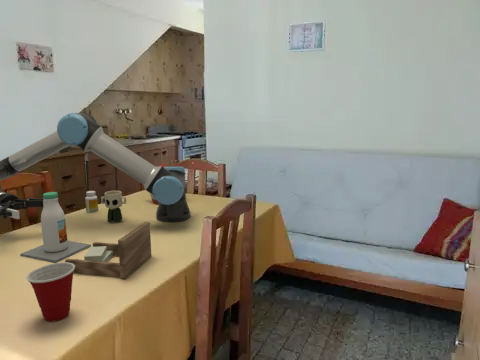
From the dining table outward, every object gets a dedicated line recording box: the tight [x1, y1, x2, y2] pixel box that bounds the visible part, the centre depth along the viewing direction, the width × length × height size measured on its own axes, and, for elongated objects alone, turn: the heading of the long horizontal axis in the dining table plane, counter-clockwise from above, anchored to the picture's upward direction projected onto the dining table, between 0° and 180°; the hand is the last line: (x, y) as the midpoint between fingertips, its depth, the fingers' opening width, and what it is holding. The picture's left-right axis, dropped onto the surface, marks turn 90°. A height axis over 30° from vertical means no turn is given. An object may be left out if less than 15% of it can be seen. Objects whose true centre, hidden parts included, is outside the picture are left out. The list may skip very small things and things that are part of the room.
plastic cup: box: [25, 261, 75, 322], centre depth 98 cm, size 11×11×12 cm
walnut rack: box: [64, 221, 152, 280], centre depth 129 cm, size 20×18×12 cm
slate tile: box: [19, 240, 92, 264], centre depth 142 cm, size 16×16×1 cm
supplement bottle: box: [84, 190, 99, 214], centre depth 191 cm, size 5×5×10 cm
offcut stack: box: [83, 246, 114, 262], centre depth 132 cm, size 7×10×4 cm
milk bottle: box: [40, 191, 69, 252], centre depth 140 cm, size 8×8×20 cm
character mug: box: [100, 190, 127, 223], centre depth 175 cm, size 11×7×13 cm, turn 89°
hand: (37, 210), depth 144 cm, fingers open, 13 cm apart
